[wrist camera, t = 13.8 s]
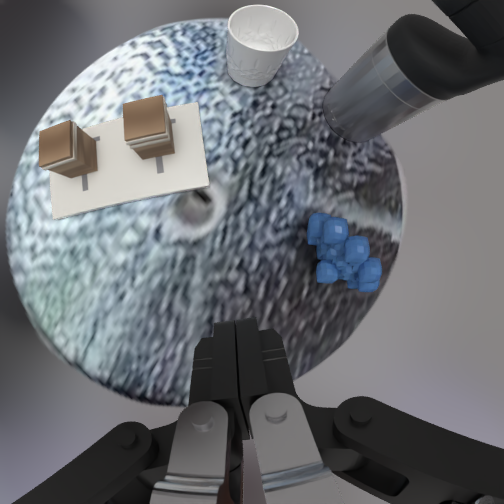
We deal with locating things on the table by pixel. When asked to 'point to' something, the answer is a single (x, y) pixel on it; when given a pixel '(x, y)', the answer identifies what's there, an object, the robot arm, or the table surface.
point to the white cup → (258, 43)
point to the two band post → (148, 127)
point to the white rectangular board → (133, 168)
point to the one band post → (67, 150)
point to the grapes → (342, 254)
